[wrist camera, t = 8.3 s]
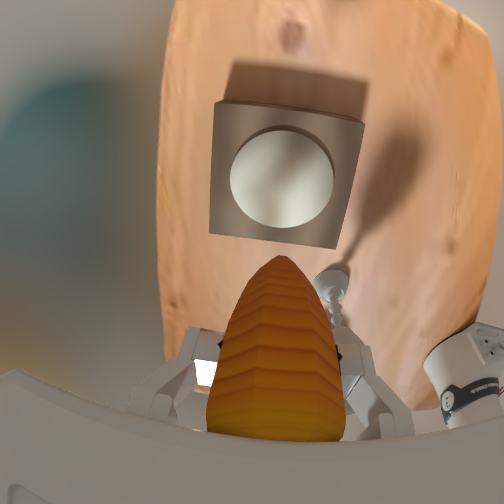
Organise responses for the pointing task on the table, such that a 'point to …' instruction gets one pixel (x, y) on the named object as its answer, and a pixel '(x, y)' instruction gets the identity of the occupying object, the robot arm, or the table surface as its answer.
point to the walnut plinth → (281, 172)
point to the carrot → (278, 363)
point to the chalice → (336, 309)
